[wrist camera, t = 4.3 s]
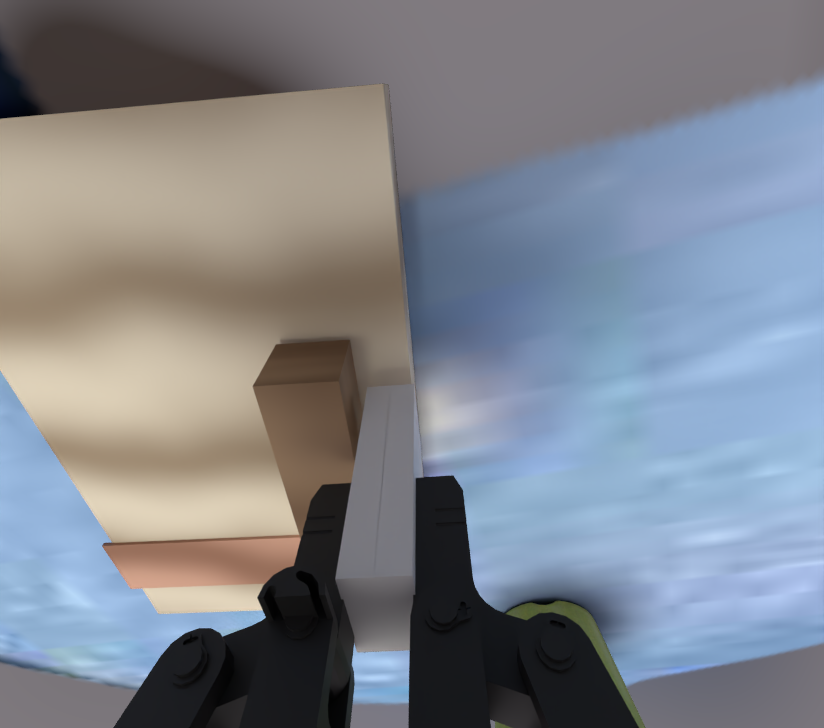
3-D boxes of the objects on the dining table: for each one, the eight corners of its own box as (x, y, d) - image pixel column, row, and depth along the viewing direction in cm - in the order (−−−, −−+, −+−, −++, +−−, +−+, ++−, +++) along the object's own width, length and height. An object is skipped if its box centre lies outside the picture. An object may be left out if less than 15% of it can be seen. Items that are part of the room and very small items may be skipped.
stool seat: (-79, 127, 14) (-175, 134, 12) (388, 84, 13) (382, 83, 11) (173, 569, 25) (149, 616, 23) (430, 559, 24) (432, 606, 22)
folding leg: (389, 572, 21) (385, 641, 18) (337, 574, 21) (326, 643, 18) (350, 339, 14) (335, 393, 12) (275, 344, 14) (245, 399, 12)
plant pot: (436, 636, 29) (443, 827, 21) (536, 559, 24) (588, 763, 17) (547, 678, 31) (587, 861, 24) (654, 614, 27) (743, 812, 20)
